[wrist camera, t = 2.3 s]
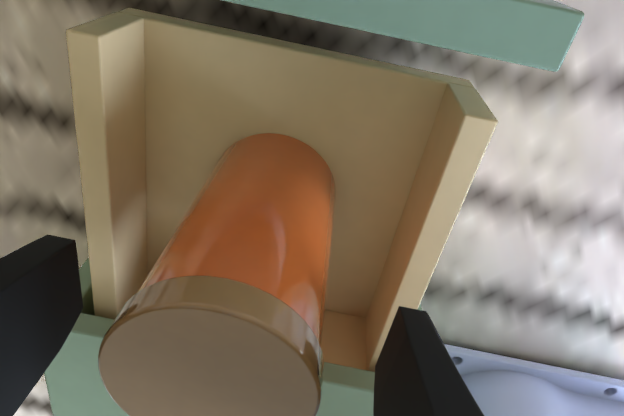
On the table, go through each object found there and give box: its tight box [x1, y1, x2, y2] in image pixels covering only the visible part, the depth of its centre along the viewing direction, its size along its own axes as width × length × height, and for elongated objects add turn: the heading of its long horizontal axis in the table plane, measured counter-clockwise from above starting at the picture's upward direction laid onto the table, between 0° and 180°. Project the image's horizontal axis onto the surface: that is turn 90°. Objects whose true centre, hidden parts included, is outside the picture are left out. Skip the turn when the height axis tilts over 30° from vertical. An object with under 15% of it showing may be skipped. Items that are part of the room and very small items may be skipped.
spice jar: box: [98, 133, 336, 416], centre depth 12 cm, size 4×4×8 cm
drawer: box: [66, 0, 584, 372], centre depth 13 cm, size 17×11×4 cm
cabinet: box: [44, 258, 421, 416], centre depth 20 cm, size 14×13×6 cm
